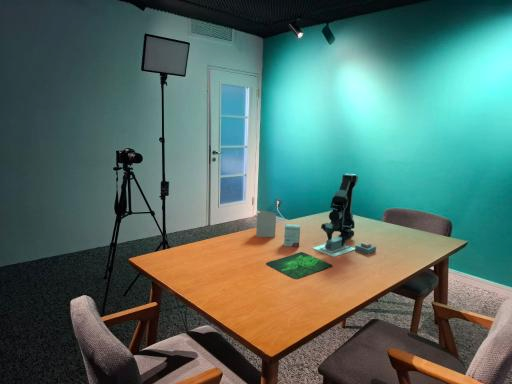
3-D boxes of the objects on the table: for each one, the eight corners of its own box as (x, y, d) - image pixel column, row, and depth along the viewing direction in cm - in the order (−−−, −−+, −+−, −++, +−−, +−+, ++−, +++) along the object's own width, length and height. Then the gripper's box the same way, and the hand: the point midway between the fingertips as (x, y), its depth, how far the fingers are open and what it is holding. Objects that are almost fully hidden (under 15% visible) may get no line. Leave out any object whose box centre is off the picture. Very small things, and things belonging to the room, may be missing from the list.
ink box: (298, 244, 198) (300, 224, 196) (299, 247, 193) (300, 227, 191) (283, 243, 199) (285, 223, 196) (283, 246, 194) (284, 226, 192)
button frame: (363, 247, 196) (363, 242, 196) (375, 251, 190) (376, 246, 190) (354, 250, 191) (355, 245, 191) (367, 254, 185) (368, 249, 185)
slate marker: (339, 244, 198) (339, 236, 197) (345, 246, 195) (345, 238, 194) (323, 249, 189) (324, 241, 188) (329, 252, 186) (330, 243, 185)
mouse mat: (295, 281, 152) (295, 279, 152) (263, 264, 168) (263, 262, 168) (334, 266, 169) (334, 265, 169) (301, 253, 186) (301, 251, 185)
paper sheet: (334, 241, 204) (334, 241, 204) (356, 249, 193) (356, 248, 193) (312, 248, 192) (312, 247, 192) (334, 257, 180) (334, 256, 180)
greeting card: (275, 236, 209) (276, 213, 206) (269, 240, 203) (270, 215, 200) (259, 233, 215) (260, 209, 212) (253, 236, 209) (254, 212, 206)
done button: (364, 246, 193) (365, 241, 193) (370, 248, 190) (371, 243, 190) (360, 248, 191) (361, 243, 190) (366, 250, 188) (367, 245, 187)
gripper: (315, 215, 191) (313, 242, 194) (343, 223, 177) (340, 252, 180) (328, 212, 198) (326, 238, 201) (356, 220, 184) (353, 248, 188)
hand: (335, 244), depth 193 cm, fingers open, 8 cm apart
